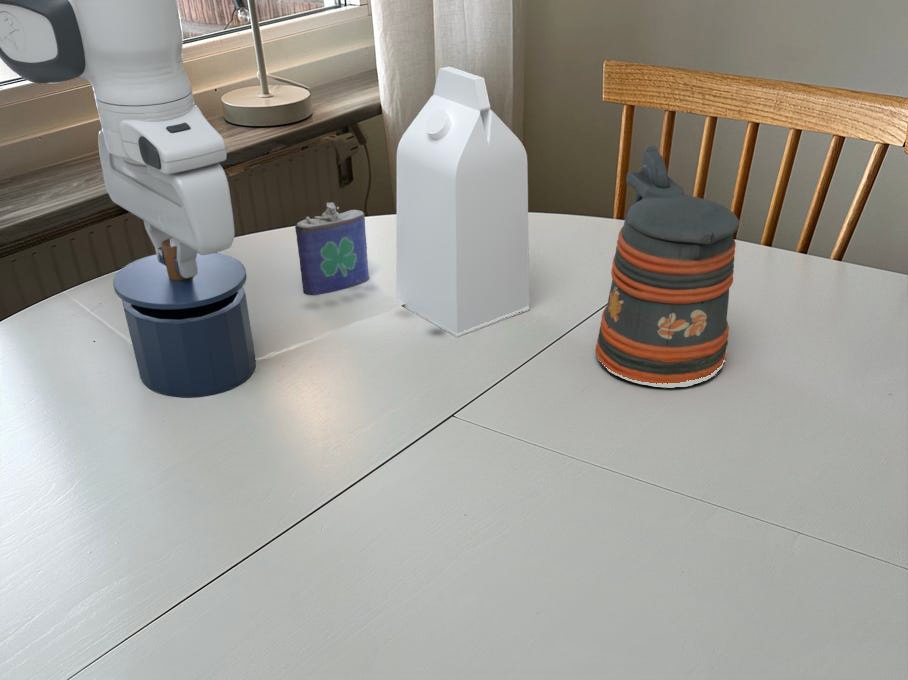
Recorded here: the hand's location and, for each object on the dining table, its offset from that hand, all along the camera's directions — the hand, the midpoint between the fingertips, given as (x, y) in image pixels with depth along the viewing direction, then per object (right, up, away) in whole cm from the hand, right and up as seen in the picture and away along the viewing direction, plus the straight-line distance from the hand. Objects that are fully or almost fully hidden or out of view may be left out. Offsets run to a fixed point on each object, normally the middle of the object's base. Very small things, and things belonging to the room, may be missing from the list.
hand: (178, 269), depth 105 cm
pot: (0, -8, +8) cm, 11 cm away
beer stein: (+51, -5, +12) cm, 53 cm away
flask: (+13, +6, +23) cm, 28 cm away
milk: (+29, +3, +20) cm, 36 cm away
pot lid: (0, -1, +1) cm, 1 cm away
